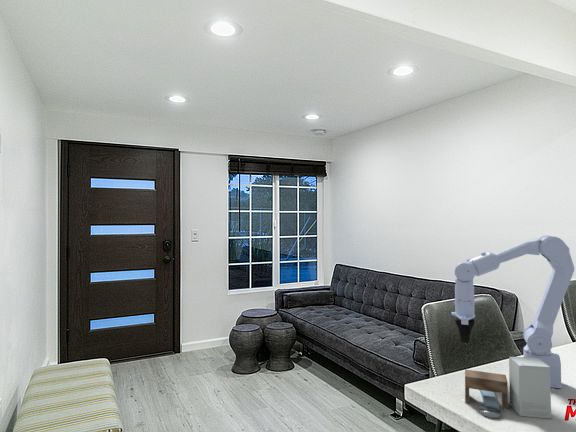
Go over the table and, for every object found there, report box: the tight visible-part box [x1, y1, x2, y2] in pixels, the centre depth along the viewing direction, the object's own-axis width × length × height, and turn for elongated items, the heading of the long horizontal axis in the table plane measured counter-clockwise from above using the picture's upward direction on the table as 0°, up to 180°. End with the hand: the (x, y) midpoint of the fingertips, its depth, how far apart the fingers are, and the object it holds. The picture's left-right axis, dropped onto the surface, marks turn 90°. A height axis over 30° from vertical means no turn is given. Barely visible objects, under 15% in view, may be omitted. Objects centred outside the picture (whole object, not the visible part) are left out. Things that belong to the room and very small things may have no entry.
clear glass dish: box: [478, 405, 502, 420], centre depth 101 cm, size 5×5×1 cm
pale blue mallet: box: [479, 390, 500, 410], centre depth 110 cm, size 4×16×4 cm, turn 161°
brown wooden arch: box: [464, 368, 509, 410], centre depth 108 cm, size 10×6×7 cm, turn 66°
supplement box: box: [508, 356, 552, 419], centre depth 103 cm, size 7×7×13 cm
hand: (464, 342), depth 130 cm, fingers closed
